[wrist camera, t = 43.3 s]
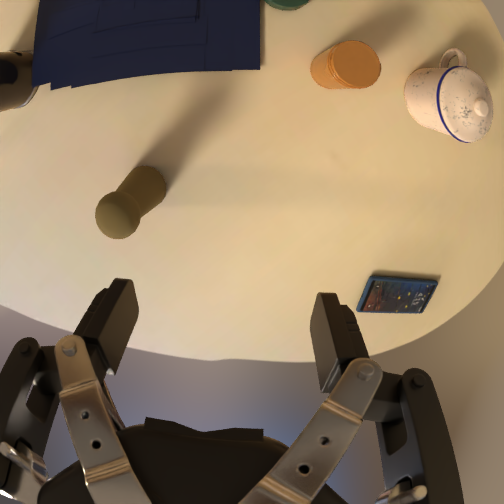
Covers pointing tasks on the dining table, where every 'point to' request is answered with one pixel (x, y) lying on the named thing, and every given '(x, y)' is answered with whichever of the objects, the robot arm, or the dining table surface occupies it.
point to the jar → (346, 66)
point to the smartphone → (396, 295)
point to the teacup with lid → (450, 99)
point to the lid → (287, 4)
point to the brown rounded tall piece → (130, 202)
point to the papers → (142, 39)
